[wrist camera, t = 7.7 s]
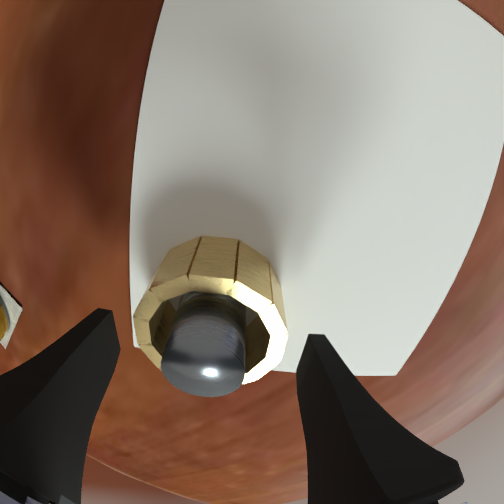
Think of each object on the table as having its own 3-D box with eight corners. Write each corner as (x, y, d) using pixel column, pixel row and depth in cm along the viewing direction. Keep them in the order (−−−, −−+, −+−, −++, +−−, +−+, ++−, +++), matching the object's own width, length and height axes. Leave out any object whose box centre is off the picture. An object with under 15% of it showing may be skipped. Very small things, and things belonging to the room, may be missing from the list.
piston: (252, 274, 13) (252, 351, 9) (240, 323, 14) (237, 401, 10) (186, 262, 12) (160, 335, 8) (182, 313, 14) (161, 388, 10)
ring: (289, 244, 12) (300, 285, 9) (268, 344, 14) (271, 391, 12) (152, 230, 12) (126, 266, 9) (159, 332, 14) (143, 376, 11)
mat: (509, 46, 7) (515, 46, 7) (393, 369, 17) (395, 375, 16) (195, -72, 6) (194, -78, 5) (136, 340, 15) (134, 346, 15)
